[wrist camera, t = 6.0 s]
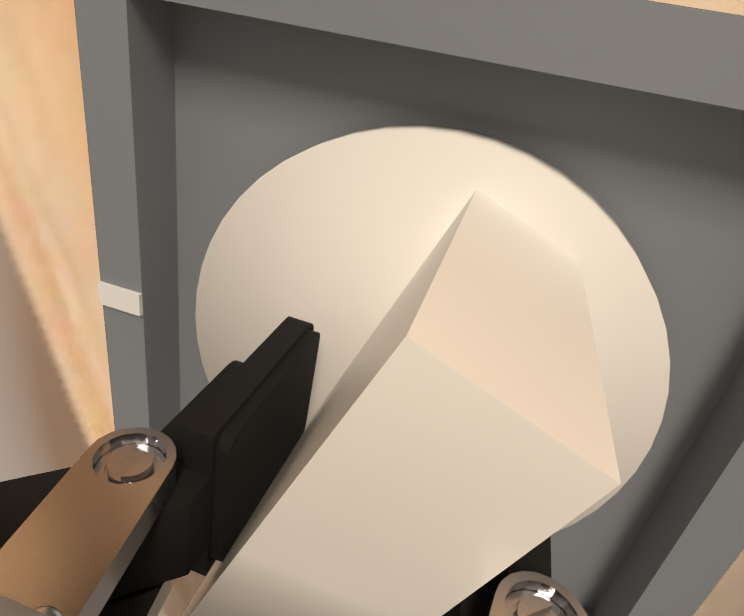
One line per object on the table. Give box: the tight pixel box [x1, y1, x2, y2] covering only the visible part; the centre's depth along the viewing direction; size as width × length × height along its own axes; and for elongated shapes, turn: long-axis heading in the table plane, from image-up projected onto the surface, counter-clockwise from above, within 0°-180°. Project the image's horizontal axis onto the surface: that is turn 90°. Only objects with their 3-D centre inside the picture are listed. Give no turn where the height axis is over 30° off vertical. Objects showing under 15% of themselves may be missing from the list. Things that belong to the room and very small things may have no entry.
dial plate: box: [74, 0, 744, 616], centre depth 13 cm, size 16×16×4 cm
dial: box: [181, 124, 670, 616], centre depth 10 cm, size 11×11×7 cm
